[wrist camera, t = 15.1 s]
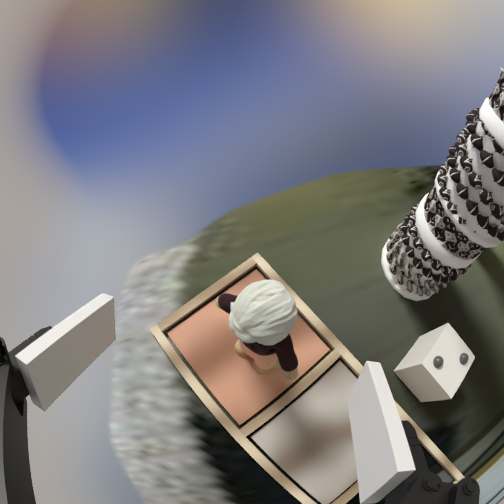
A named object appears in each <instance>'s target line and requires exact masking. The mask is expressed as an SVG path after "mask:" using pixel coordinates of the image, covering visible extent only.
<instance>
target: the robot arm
mask: <svg viewBox="0 0 504 504" xmlns="http://www.w3.org/2000/svg"><path fill="white" fill-rule="evenodd" d="M115 340H116V336H115V317H114V297H112V296H109V295H107V294H104V293H102V294H101V295H99V296H98V297H96V298H95V299H93V300H92V301H90V302H89V303H88V304H86V305H84V306H83V307H82V308H80V309H79V310H77V311H76V312H75V313H73V314H71V315H70V316H69V317H67V318H66V319H64V320H63V321H62V322H60V323H59V324H57V325H56V326H55V327H51V326H49V327H46V328H43V329H41V330H39V331H38V332H36V333H35V334H34V336H31V337H30V338H28V340H25V341H24V342H22V343H21V344H20V345H18V346H17V347H16V348H14V349H13V350H12V351H10V352H9V353H8V351H7V348H6V344H5V341H4V340H3V338H1V337H0V504H36V502H35V497H34V491H33V486H32V479H31V472H30V464H29V453H28V438H27V400H26V397H27V396H28V395H30V397H31V399H32V402H33V403H34V404H35V405H37V406H38V407H39V408H41V409H42V410H43V411H46V409H47V408H48V407H49V406H50V405H51V404H52V403H53V402H54V401H55V400H56V399H57V398H58V397H59V396H60V395H61V394H62V393H63V392H64V391H65V390H66V389H67V388H68V387H69V386H70V385H71V383H73V381H75V380H76V378H77V377H78V376H79V375H80V374H81V373H82V372H83V371H84V370H85V369H86V368H87V367H88V366H89V365H90V364H91V363H92V362H93V361H94V360H95V359H96V358H97V357H98V356H99V355H100V354H101V353H102V352H103V351H104V350H105V349H106V348H107V347H109V346H110V345H111V344H112V343H113V342H114V341H115ZM346 401H347V406H348V412H349V419H350V425H351V432H352V438H353V446H354V453H355V461H356V469H357V478H358V487H359V497H360V504H369V503H377V502H379V501H380V500H381V499H382V498H384V497H385V502H386V503H385V504H479V494H480V488H479V485H478V483H477V481H476V480H475V479H473V478H471V477H465V478H462V479H461V480H460V481H459V482H458V483H456V484H454V483H446V482H442V480H441V479H440V477H439V476H438V475H436V474H435V473H432V472H429V470H428V466H427V463H426V460H425V457H424V454H423V451H422V448H421V446H420V442H419V439H418V436H417V433H416V430H415V428H414V427H413V426H412V424H411V423H410V422H409V421H408V420H401V419H400V416H399V414H398V411H397V408H396V405H395V402H394V399H393V396H392V393H391V391H390V388H389V385H388V383H387V380H386V377H385V375H384V372H383V369H382V367H381V364H380V363H378V362H371V361H366V363H365V365H364V367H363V369H362V371H361V373H360V375H359V377H358V379H357V381H356V383H355V385H354V387H353V388H352V390H351V392H350V394H349V396H348V397H347V399H346Z"/></svg>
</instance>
